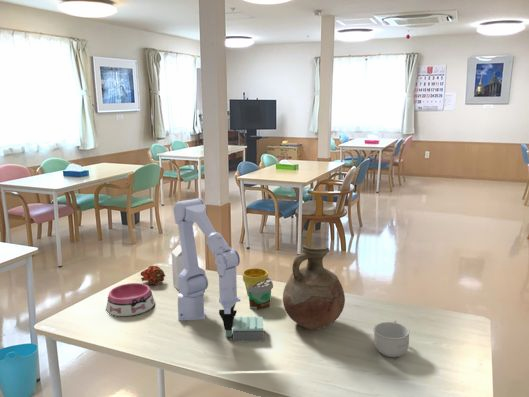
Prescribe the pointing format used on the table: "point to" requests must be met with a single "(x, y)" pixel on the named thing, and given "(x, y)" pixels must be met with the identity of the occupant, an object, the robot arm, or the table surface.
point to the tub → (247, 336)
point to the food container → (260, 294)
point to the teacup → (391, 338)
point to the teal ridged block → (246, 324)
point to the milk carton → (177, 264)
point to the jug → (313, 291)
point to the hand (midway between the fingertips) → (228, 324)
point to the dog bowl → (130, 300)
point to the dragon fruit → (153, 275)
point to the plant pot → (254, 276)
